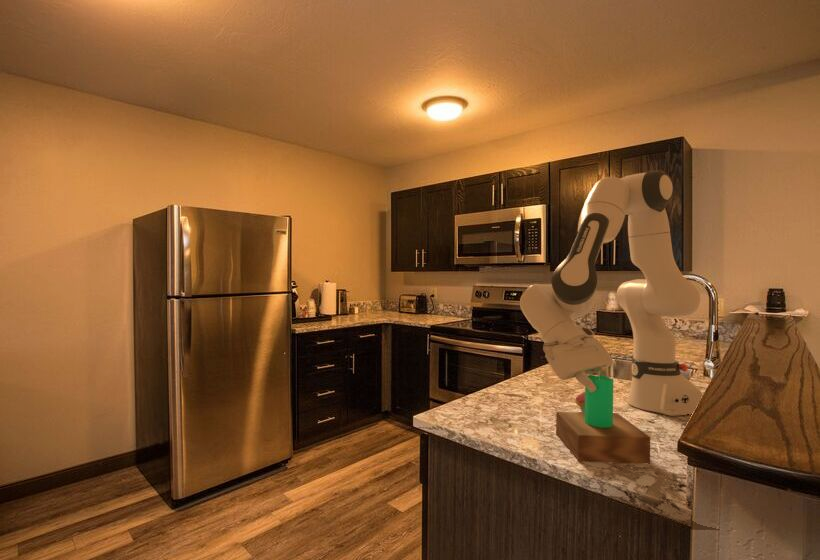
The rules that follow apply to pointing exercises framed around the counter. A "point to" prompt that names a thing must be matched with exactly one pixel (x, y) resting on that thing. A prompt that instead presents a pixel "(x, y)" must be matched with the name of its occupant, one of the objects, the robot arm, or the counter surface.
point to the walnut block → (602, 439)
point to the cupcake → (581, 401)
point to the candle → (599, 402)
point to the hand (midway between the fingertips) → (602, 388)
